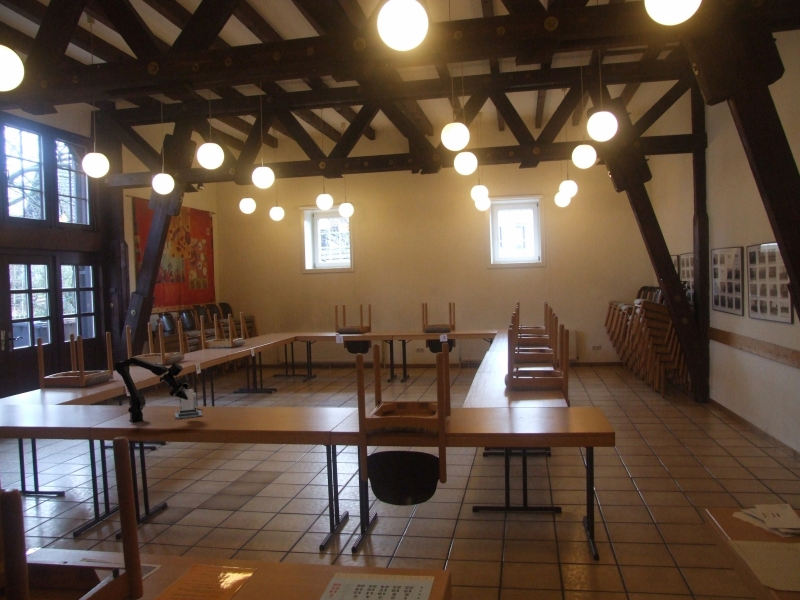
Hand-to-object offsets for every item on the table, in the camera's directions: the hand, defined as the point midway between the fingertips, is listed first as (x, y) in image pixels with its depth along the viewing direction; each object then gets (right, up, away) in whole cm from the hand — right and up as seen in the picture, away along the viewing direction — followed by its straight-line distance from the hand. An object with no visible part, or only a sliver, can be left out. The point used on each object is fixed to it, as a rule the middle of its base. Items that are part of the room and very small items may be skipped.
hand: (189, 398), depth 364 cm
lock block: (-1, -7, 0) cm, 7 cm away
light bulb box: (-13, -13, +34) cm, 39 cm away
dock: (-6, -13, +14) cm, 20 cm away
